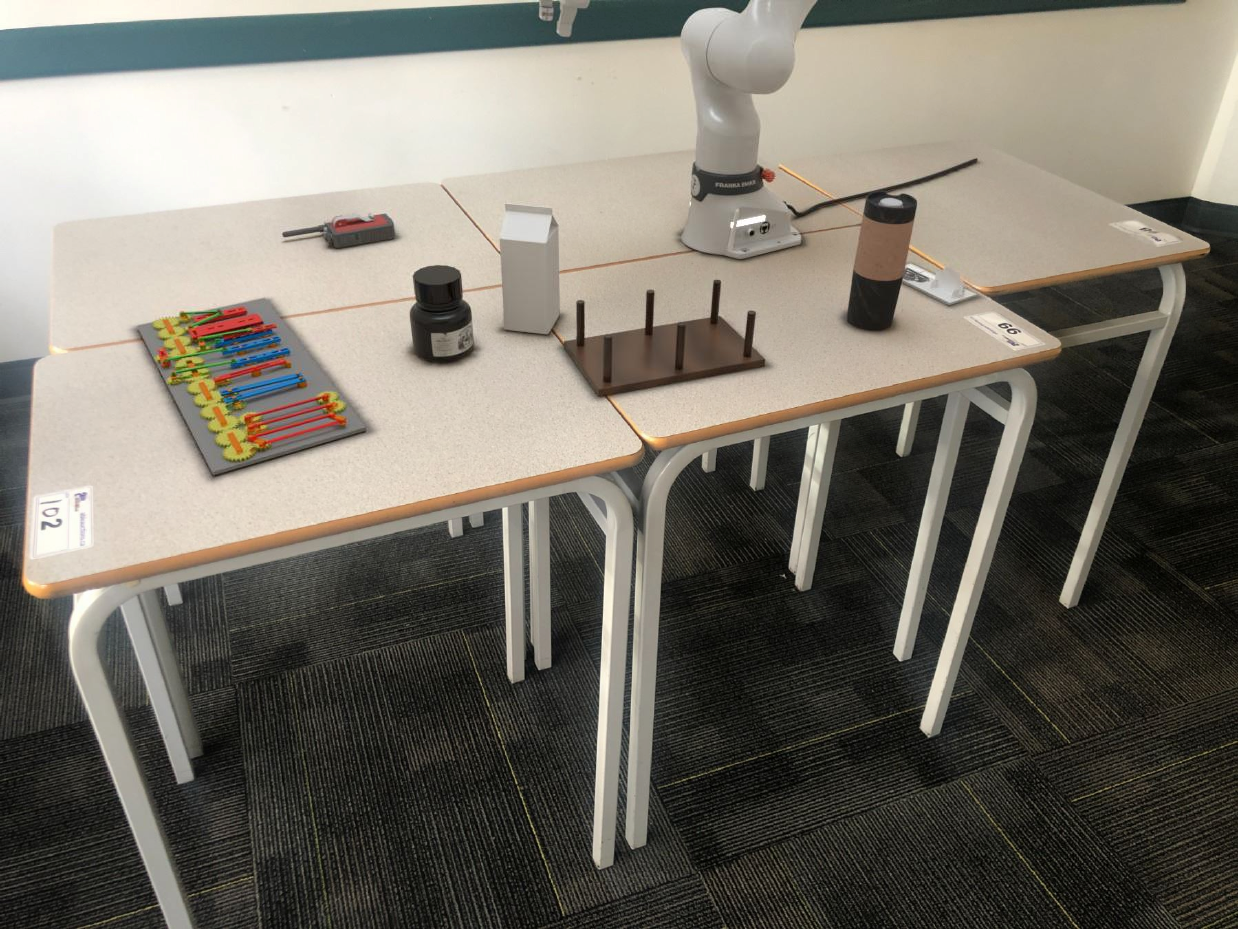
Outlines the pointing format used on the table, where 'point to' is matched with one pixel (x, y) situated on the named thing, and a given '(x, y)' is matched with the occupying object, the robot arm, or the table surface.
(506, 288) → the milk carton
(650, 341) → the peg rack
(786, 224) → the robot arm
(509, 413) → the table surface
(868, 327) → the travel mug
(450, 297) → the ink bottle
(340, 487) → the table surface
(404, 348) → the table surface
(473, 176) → the table surface
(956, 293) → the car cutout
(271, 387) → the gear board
